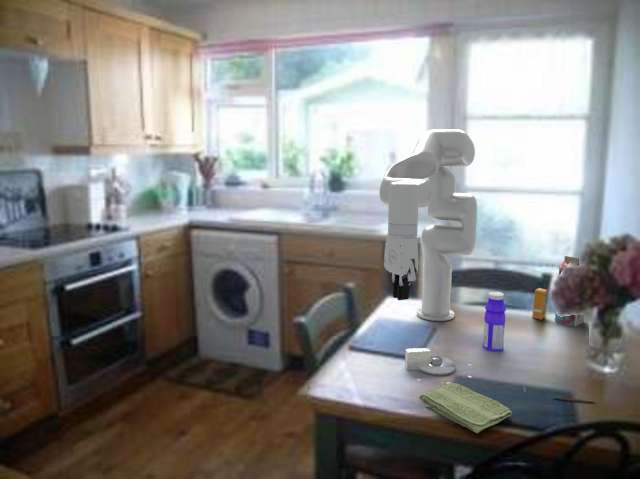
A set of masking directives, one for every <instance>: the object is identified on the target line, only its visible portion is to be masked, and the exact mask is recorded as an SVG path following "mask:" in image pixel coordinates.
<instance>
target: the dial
mask: <svg viewBox="0 0 640 479" xmlns="http://www.w3.org/2000/svg"><path fill="white" fill-rule="evenodd" d="M404 356H405V358H404V359H405V360H404V368H405V370H406V371H416V370H417V371H418V370H419V371H420V372H422V373H424V374H426V375H432V376H447V375H451V374H453V373H454V372H455V370H456V363H455V362H454V361H453V360H452V359H450V358H447V357H445V356H441V355H431V350H430V349H429V348H428V347H424V348H422V347H421V348H406V349H405V353H404Z"/></svg>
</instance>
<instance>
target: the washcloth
mask: <svg viewBox="0 0 640 479" xmlns="http://www.w3.org/2000/svg"><path fill="white" fill-rule="evenodd" d="M419 398H420V400H421V401H422V402H425V403H428V404H429V405H431V406H426V407H425V408H426V409H428V410H429V411H431V412H434V413H435V414H437V415H440V416H441V417H443V418H446V419H447V420H450V421H452V422H453V423H455V424H459V425H460V426H461V427H463V428H464V427H465V428H467V429H468V430H470V431H471V432H473V433H476V434H479V433H480V432H482V431H484V430H485V429H487V428H489V427H491V426H496V424H499V423H501V422H502V421H503V420H505V419H507V418H509V417H511V416H512V414H513V412H512V411H511V410H510V408H509V407H507V406H505V405H504V404H502V403H500V402H499V401H497V400H494V399H493V398H490V397H488V396H485V395H484V394H481V393H477V392H476V391H474V390H471V389H470V388H469V387H466V386H464V385H462V384H459V383H454V382H450V383H449V384H447V383H445V384H444V385H442V386H441V387H439V388H437V389H436V390H430V391H427V392H424V393H421V395H420V396H419Z"/></svg>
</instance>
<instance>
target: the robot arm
mask: <svg viewBox="0 0 640 479" xmlns="http://www.w3.org/2000/svg"><path fill="white" fill-rule="evenodd" d="M475 154H476V150H475V144H474V142H473V140H472V139H471V137H470V135H468V134H467V133H466V132H465V131H464V130H461V129H430V130H426V131H424V132H423V133H422V134H421V135H420V137H419V139H418V140H417V143H416V145H415V147H414V150H413V152H412V154H411V155H409V156H407V157H405V158H403V159H401V160H399V161H398V162H396V163H394V164H392V165H391V166H390V167H389V168H388V169H387V171H386V172H385V174H384V177H383V178H382V181H381V183H380V185H379V190H378V191H379V199H380V201H381V202H382V204H384V205H386V206H388V207H387V208H388V209H387V210H388V215H387V234H386V239H385V244H384V245H385V246H384V257H383V258H384V259H383V267H384V268H385V270H386V271H388V272H389V273H390V274H391V281H392V283H393V284H392V297H393V299H397V301H406V300H409V298H410V285H411V282H413V281H416V280H417V277H416V275H417V274H418V272H419V243H418V225H419V224H418V223H419V208H425V207H427V215H428V217H429V218H430V219H431V220H433V221H440V222H455V223H460V225H461V226H460V225H450V224H449V225H448V224H447V225H446V224H430V225H427V226H425V227H424V228H423V230H422V232H421V247H422V260H423V262H422V263H423V265H422V291H421V292H422V293H421V298H422V299H421V307H420V308H418V309H417V310H416V314H417V316H418V317H420V318H421V319H423V320H427V321H433V322H446V321H450V320H453V319H455V312H454V311H453V310H452V309H451V295H452V291H451V290H452V276H453V275H452V274H453V267H452V263H451V261H450V259H449V258H448V257H447V255H453V256H454V255H455V256H470V255H472V254H473V252H474V250H475V247H476V238H477V237H476V236H477V222H478V220H477V219H478V203H477V199H476V197H475V196H474V195H473V194H471V193H465V192H464V193H463V192H456V190H455V189H456V187H455V186H456V176H455V173H454V172H453V171H452V169H451V168H450V167H468V166H470V165H471V164H472V163H473V162H474V160H475ZM427 178H428V180H427Z"/></svg>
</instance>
